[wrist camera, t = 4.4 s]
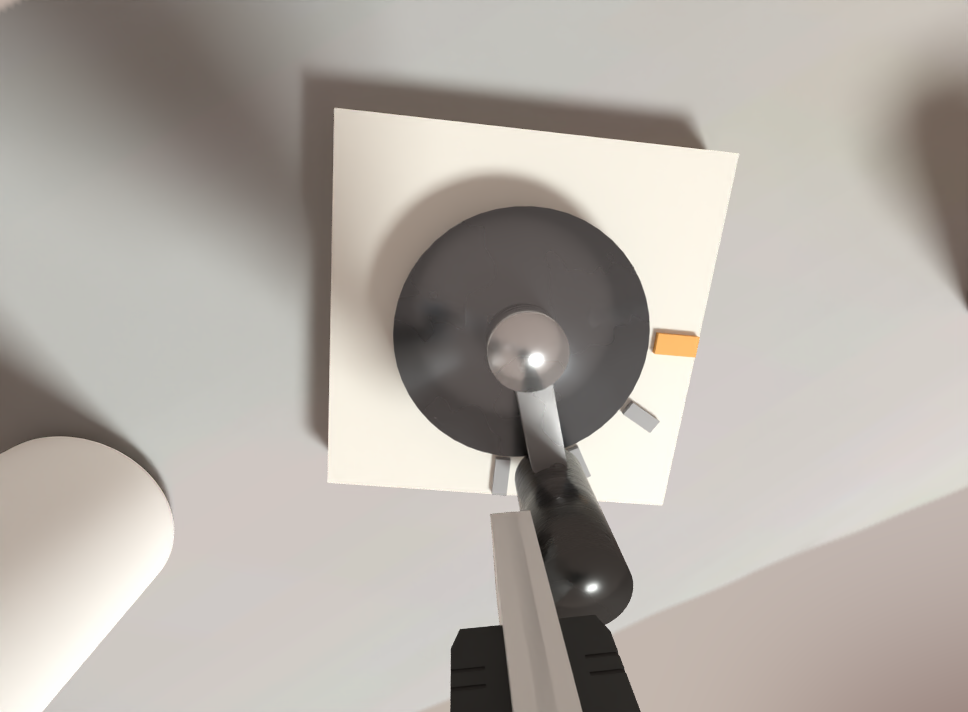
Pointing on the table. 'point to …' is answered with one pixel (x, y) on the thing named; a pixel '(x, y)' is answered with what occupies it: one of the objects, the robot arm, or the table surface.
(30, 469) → the beverage can
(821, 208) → the table surface
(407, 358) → the dial
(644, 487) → the dial board
